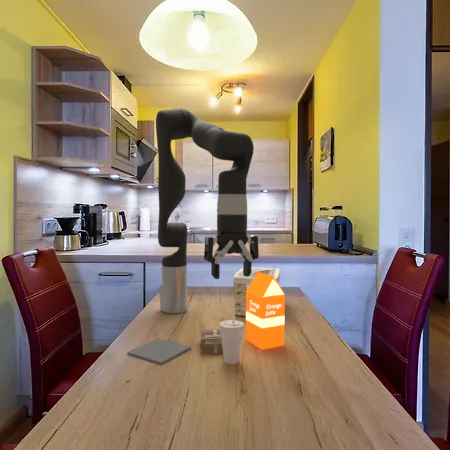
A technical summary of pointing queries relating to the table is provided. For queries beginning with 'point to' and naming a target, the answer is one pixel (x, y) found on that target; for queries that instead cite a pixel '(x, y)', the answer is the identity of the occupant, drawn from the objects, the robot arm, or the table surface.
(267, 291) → the orange juice
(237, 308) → the storage basket
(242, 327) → the smoothie
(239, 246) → the robot arm
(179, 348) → the slate pad
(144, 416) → the table surface
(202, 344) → the lettered block
